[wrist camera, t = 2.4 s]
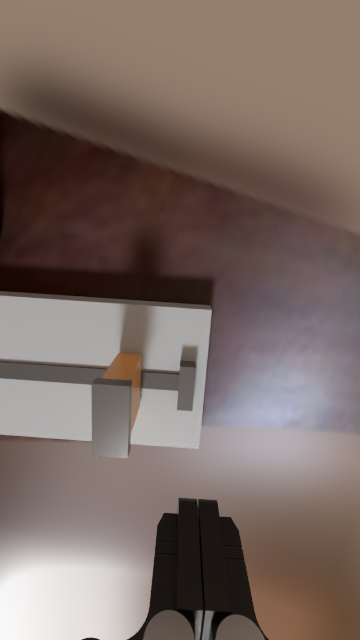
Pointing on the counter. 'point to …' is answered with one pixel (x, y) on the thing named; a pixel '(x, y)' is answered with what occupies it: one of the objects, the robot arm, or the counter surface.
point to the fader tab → (116, 406)
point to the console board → (100, 364)
